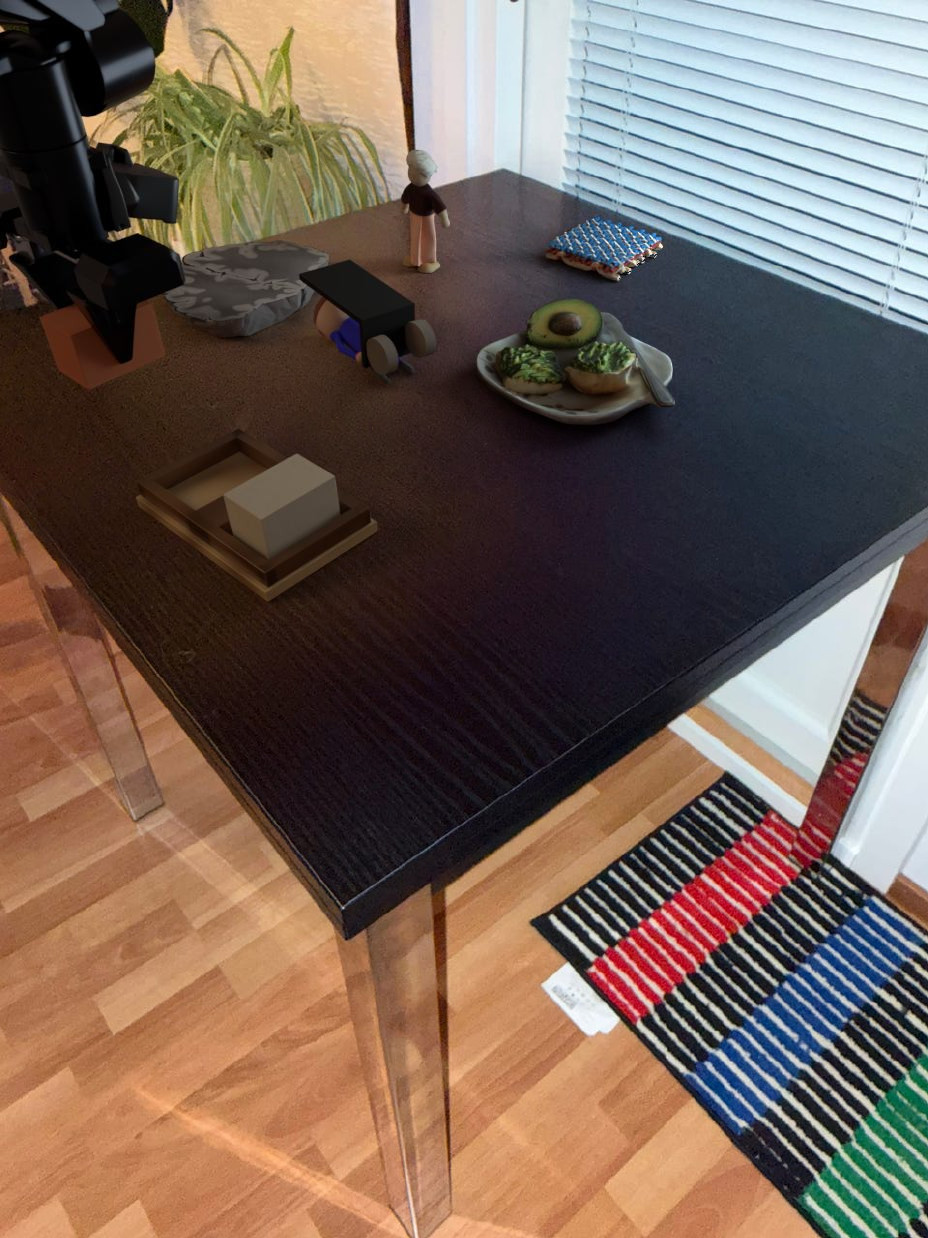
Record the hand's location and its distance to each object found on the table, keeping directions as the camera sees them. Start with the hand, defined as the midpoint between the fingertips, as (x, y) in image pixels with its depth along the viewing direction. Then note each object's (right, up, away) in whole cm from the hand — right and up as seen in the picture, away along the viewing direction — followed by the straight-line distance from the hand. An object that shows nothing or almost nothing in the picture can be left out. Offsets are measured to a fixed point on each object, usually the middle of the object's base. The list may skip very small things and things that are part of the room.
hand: (109, 351), depth 73 cm
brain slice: (+3, +14, +29) cm, 32 cm away
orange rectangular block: (0, -1, +1) cm, 1 cm away
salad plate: (+38, +2, +17) cm, 42 cm away
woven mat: (+44, +21, +36) cm, 61 cm away
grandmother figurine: (+23, +20, +35) cm, 46 cm away
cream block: (+14, -14, -1) cm, 20 cm away
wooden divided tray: (+11, -13, +1) cm, 17 cm away
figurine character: (+19, +5, +20) cm, 28 cm away
